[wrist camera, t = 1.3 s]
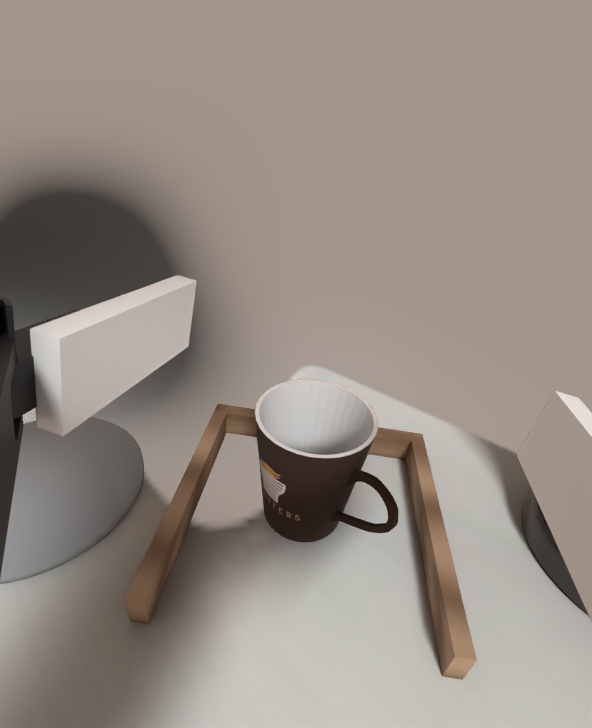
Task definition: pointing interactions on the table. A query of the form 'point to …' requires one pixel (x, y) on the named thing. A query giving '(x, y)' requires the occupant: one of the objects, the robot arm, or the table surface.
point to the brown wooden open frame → (387, 442)
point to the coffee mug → (315, 457)
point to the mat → (68, 494)
